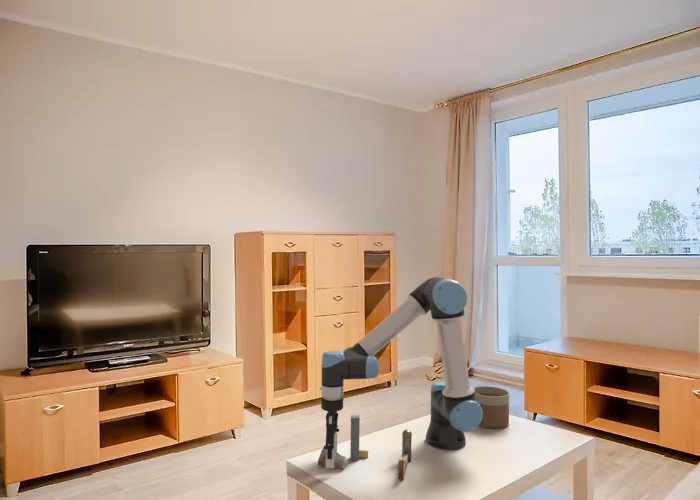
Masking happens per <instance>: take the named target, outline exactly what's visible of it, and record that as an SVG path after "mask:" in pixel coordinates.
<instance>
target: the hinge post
mask: <svg viewBox="0 0 700 500" xmlns="http://www.w3.org/2000/svg"><path fill="white" fill-rule="evenodd" d="M412 434H413V433H412V432H411V430H409V429H404V430H403V431H402V434H401V436H402V439H401V440H402V441H401V442H402V443H401V448H402V449H401V452H402V453H401V458H402V457H403V454H408V464H409V463H412V439H413V438H412V437H413V435H412Z"/></svg>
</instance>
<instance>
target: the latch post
mask: <svg viewBox="0 0 700 500" xmlns="http://www.w3.org/2000/svg"><path fill="white" fill-rule="evenodd" d="M360 418H361V416H360V415H356V414H355V415H352V414H351V416H350V451H349V452H350V456H349V457H350V458H349V459H350V461H358V462H359V461H360V458H364V459H365V458H366V459H368V458H369V449H360V422H361V421H360V420H361V419H360Z"/></svg>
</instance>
